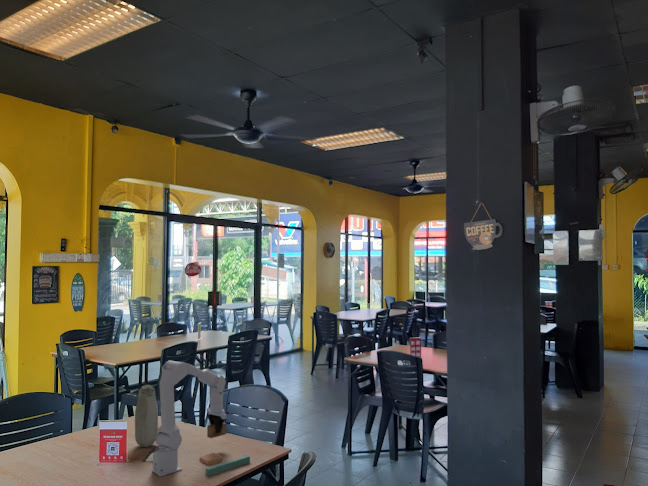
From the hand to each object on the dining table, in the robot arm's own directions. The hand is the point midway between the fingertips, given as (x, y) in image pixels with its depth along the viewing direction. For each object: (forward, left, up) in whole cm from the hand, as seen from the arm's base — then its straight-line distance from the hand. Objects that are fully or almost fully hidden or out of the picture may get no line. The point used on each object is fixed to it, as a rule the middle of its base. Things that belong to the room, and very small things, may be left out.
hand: (216, 431), depth 226 cm
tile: (-8, -9, -9) cm, 15 cm away
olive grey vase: (-21, +28, -9) cm, 36 cm away
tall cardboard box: (0, 0, -2) cm, 2 cm away
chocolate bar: (-21, +14, -9) cm, 27 cm away
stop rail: (-7, -21, -8) cm, 24 cm away
